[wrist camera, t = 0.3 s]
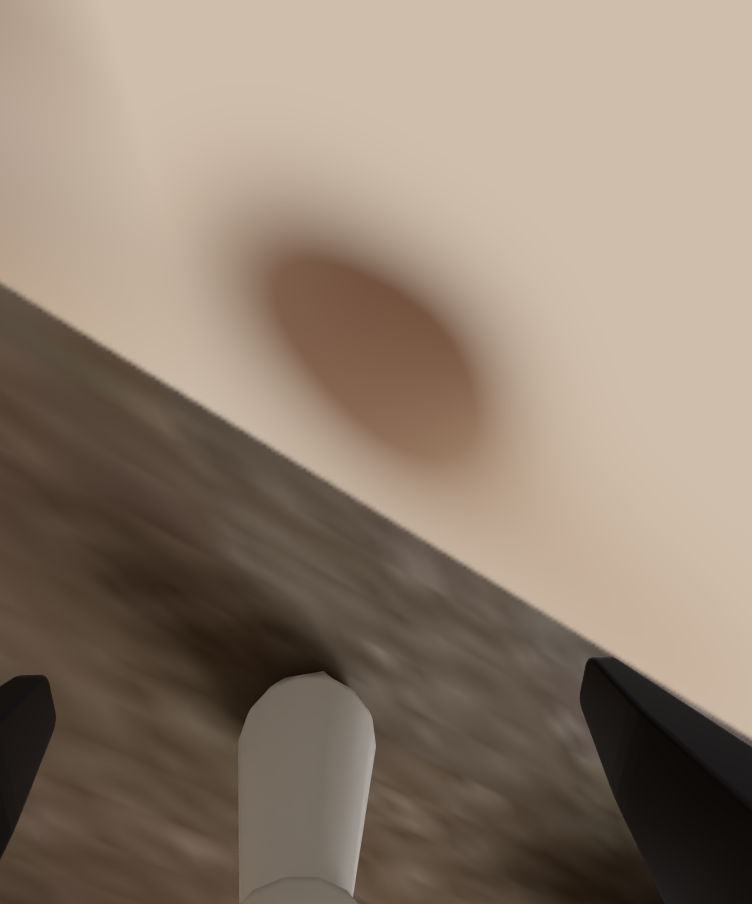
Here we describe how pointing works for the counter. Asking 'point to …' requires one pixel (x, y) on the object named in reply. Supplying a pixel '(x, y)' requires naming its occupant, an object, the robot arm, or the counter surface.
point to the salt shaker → (303, 792)
